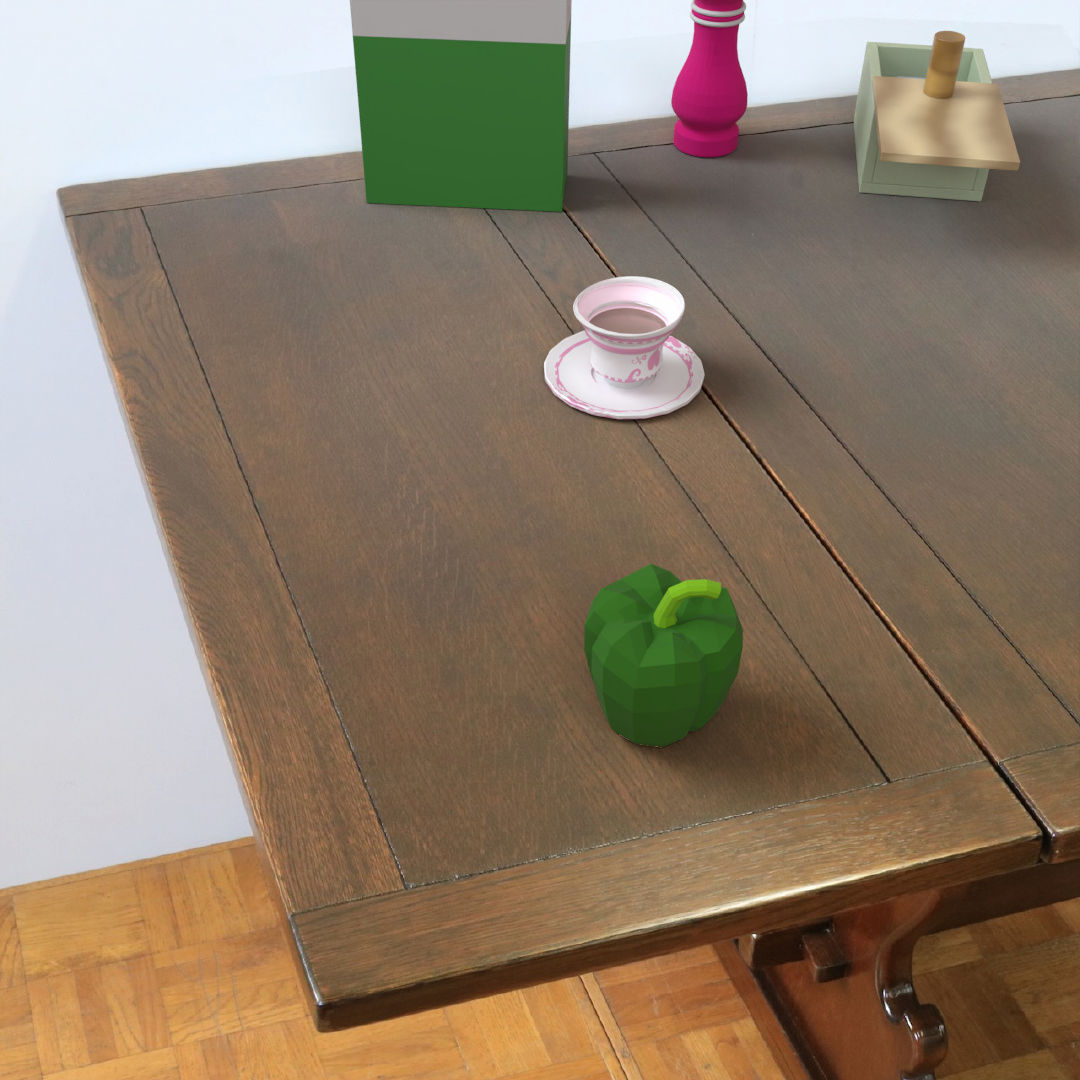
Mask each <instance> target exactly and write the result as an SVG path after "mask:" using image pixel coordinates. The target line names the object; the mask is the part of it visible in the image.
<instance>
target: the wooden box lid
mask: <svg viewBox="0 0 1080 1080" xmlns="http://www.w3.org/2000/svg"><path fill="white" fill-rule="evenodd" d="M965 42H966V36H965V34H963V33H961V32H958V31H954V30H939V31H937V32H936V33H934V36H933V40H932V44H931V45H932V50H931V55H930V60H929V64H928V69H927V74H926V79H916V78H901V77H885V76H873V81H872V89H873V98H874V107H875V117H876V126H877V135H878V144H879V154H880V161H887V162H901V163H915V164H929V165H943V166H957V167H971V168H985V169H989V170H1001V171H1015V172H1017V171H1018V172H1019V168H1020V164H1021V160H1020V156H1019V153H1018V149H1017V146H1016V141H1015V139H1014V136H1013V135H1014V134H1013V132H1012V129H1011V125H1010V121H1009V118H1008V114H1007V111H1006V107H1005V104H1004V101H1003V98H1002V93H1001V90H1000V87H999V84H998V83H993V82H992V83H978V82H962V81H956V79H957V75H958V70H959V66H960V61H961V57H962V52H963V48H965Z"/></svg>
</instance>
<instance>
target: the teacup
mask: <svg viewBox="0 0 1080 1080" xmlns="http://www.w3.org/2000/svg"><path fill="white" fill-rule="evenodd" d="M572 305H573V306H572V310H573V314H574V316H575V318H576V319H577V321H579V323H580V325H581V327H583V330H581V331H579V332H576V333H574V334H572V335H569V336H567V337H565V338H563V339H562V340H561V341H559V342H558V343H557V344H556V345H555V346H553V347H552V348H551V349H550V350H549V352H548V353H547V356H546V358H545V360H544V362H543V373H544V381H545V383H546V384H547V386H548V387H549V389H550V390H551V392H552V394H553V395H554V396H556V397H557V398H558V399H559V400H561V401H563V402H564V403H565V404H566V405H568V406H570V407H571V408H573V409H576V410H579V411H581V412H584V413H587V414H590V415H592V416H596V417H603V418H608V419H615V420H646V419H649V418H653V417H659V416H664V415H668V414H671V413H673V412H674V411H677V410H679V409H681V408H683V407H685V406H687V405H688V404H689V403H690V402H692V400H693V399H694V398H696V396H697V395H698V394H699V393H700V392H701V390H702V387H703V384H704V382H705V381H704V380H705V377H706V374H705V370H704V367H703V361H702V360H701V358H700V357H699V356H698V354H696V352H695V351H694V350H693V349H692V347H690V346H689V345H688V344H686V343H684V342H682V341H681V340H679V338H676V337H674V336H672V335H671V334H672V333H673V332H674V331H675V330H676V328H678V326H679V325H680V323H681V322H682V319H683V315H684V313H685V310H686V302H685V299H684V297H683V295H682V294H681V292H680V291H679V290H678V289H677V288H675V287H674V286H673V285H671V284H670V283H667V282H665V281H663V280H660V279H656V278H653V277H647V276H637V275H636V276H633V275H629V276H628V275H626V276H617V277H612V278H607V279H604V280H600V281H598V282H595V283H592V284H591V285H589V286H587V287H585V289H583V290H582V291H581V292H580V293H579V294H578V295H577V296H576V297H575V300H574V302H573V304H572Z"/></svg>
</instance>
